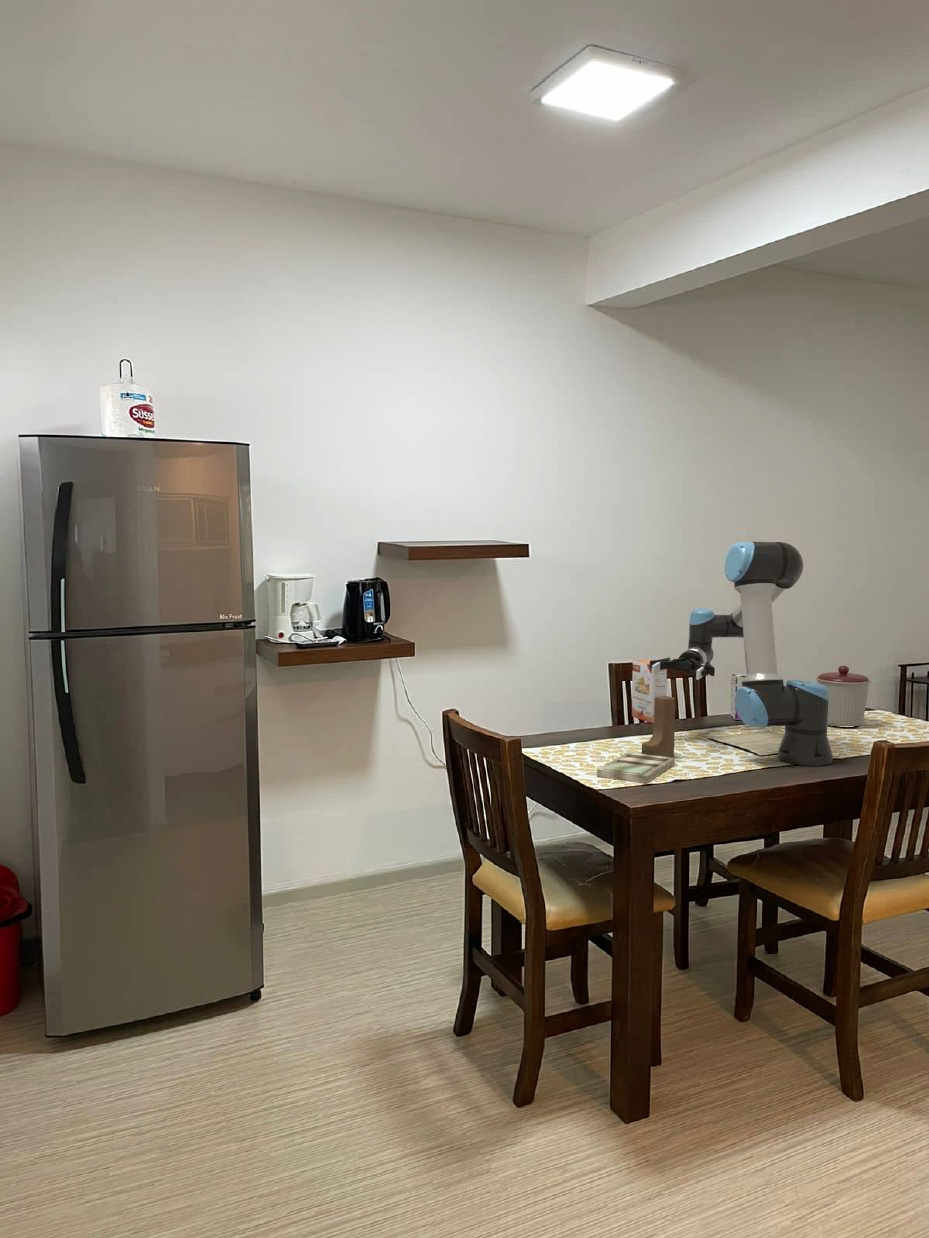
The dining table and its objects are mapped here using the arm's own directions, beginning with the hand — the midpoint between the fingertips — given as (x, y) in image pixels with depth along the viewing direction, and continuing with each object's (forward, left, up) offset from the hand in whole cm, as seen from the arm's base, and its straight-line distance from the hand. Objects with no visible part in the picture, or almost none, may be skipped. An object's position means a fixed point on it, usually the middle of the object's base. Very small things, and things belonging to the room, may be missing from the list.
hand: (674, 672), depth 286 cm
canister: (-38, -70, -24) cm, 84 cm away
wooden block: (+1, +11, -24) cm, 27 cm away
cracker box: (+23, -44, -24) cm, 56 cm away
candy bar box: (-7, -64, -24) cm, 69 cm away
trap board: (+1, +29, -24) cm, 37 cm away
